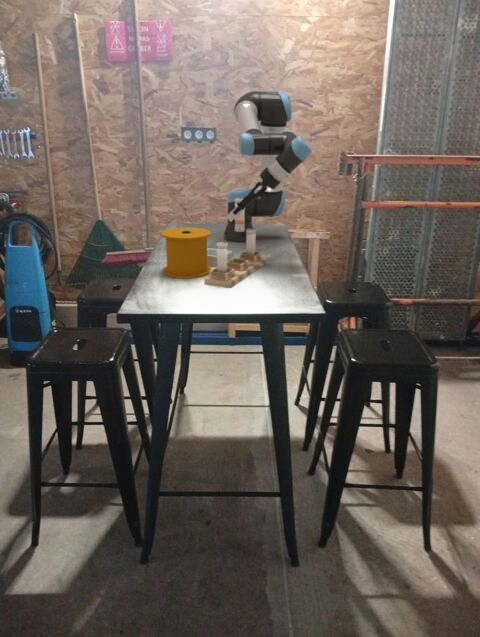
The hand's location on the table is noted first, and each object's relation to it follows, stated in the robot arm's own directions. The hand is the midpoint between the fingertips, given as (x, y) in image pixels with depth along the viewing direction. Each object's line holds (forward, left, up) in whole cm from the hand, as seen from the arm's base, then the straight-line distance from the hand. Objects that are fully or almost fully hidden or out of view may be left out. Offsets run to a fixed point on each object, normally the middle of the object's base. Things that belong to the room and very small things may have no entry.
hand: (230, 218), depth 185 cm
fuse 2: (-3, +7, -16) cm, 18 cm away
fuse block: (+10, +7, -18) cm, 22 cm away
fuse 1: (+23, +7, -16) cm, 29 cm away
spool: (+16, -10, -18) cm, 26 cm away
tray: (0, -7, -18) cm, 19 cm away
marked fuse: (-1, +4, -5) cm, 6 cm away
